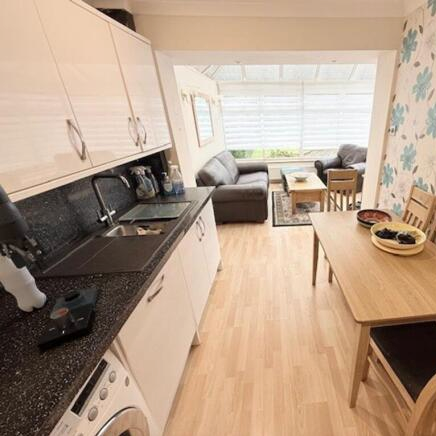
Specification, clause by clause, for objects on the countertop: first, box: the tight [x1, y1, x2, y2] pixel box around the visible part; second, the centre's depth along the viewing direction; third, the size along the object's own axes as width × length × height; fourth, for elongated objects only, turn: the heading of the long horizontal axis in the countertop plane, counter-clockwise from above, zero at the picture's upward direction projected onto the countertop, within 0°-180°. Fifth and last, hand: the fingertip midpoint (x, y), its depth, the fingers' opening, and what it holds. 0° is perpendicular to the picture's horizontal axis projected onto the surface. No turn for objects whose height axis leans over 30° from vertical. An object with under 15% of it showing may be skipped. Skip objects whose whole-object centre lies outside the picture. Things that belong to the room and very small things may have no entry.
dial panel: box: [36, 307, 96, 352], centre depth 78 cm, size 12×10×3 cm
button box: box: [49, 286, 99, 318], centre depth 89 cm, size 12×10×4 cm
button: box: [63, 289, 79, 301], centre depth 88 cm, size 4×4×2 cm
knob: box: [49, 308, 75, 330], centre depth 76 cm, size 4×4×5 cm
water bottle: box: [0, 249, 47, 313], centre depth 85 cm, size 7×7×25 cm
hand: (33, 268), depth 71 cm, fingers open, 8 cm apart
